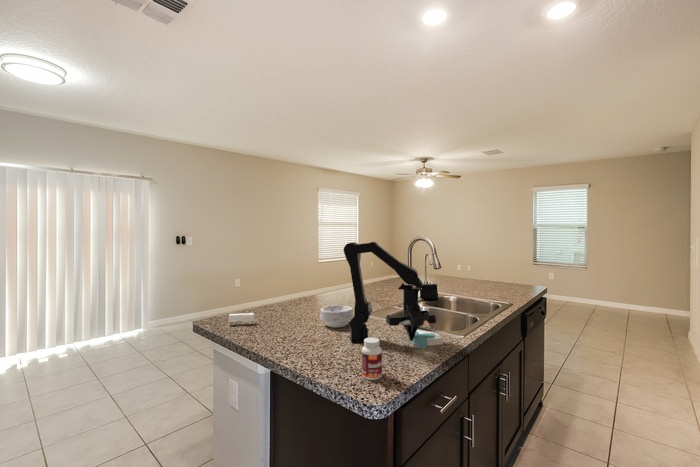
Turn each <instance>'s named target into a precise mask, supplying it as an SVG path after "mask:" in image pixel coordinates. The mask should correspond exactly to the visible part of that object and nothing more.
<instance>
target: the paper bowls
mask: <svg viewBox="0 0 700 467" xmlns="http://www.w3.org/2000/svg"><path fill="white" fill-rule="evenodd" d="M353 310H354V309H353V307H351V306H348V305H326V306H324V307H321V308H320V320H321V321H322V322H324V323H325V325H326V326H327V327H329V328H344V327H346V326H347V325H349V322H350V321H351V319H352V318H353V317H354V315H353V314H354V312H353Z"/></svg>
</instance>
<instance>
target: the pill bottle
mask: <svg viewBox="0 0 700 467" xmlns="http://www.w3.org/2000/svg"><path fill="white" fill-rule="evenodd" d="M361 376H362V378H364V379H365V380H369V381H377V380H379V379H381V378H382V376H383V350H382V347H381V346H380V339H379V338H377V337H368V338H366V339H364V342H363V346H362V347H361Z"/></svg>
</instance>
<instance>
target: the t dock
mask: <svg viewBox="0 0 700 467" xmlns="http://www.w3.org/2000/svg"><path fill="white" fill-rule="evenodd" d="M432 333H433V334H434V335H435V338H426V339H427V346H438V345H440V346H441V345H443V344H444V342H443V341H444V340H443V337H442V336H441V335H439V334H437V332H432ZM421 334H426V332H425V333H423V332H422V333H421Z"/></svg>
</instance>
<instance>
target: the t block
mask: <svg viewBox="0 0 700 467" xmlns="http://www.w3.org/2000/svg"><path fill="white" fill-rule="evenodd" d="M425 333H426V332H425ZM433 333H434V332H428V333H426V334H422V333H420V332H419V331H416V333H415V336H414V339H413V341H411V342H412V343H413V344H414V345H416V347H418V349H422V348H423V349H424V348H427V339H426V338H435V335H434V334H433Z"/></svg>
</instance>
